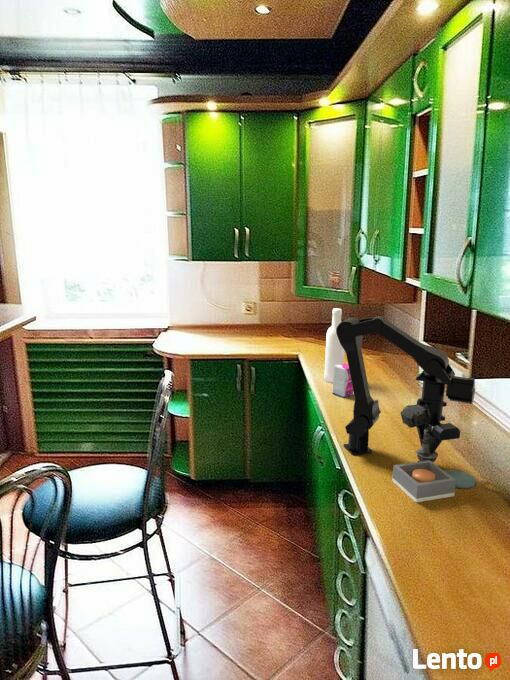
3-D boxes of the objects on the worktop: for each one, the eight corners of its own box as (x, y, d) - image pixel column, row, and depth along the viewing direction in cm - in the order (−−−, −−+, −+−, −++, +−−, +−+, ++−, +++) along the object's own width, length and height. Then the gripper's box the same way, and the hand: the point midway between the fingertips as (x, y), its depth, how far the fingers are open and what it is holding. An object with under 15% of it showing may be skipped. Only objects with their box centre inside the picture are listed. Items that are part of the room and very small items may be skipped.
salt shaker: (432, 460, 154) (436, 420, 151) (440, 469, 148) (444, 429, 145) (412, 460, 154) (415, 421, 151) (419, 470, 148) (422, 429, 145)
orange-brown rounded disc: (407, 474, 139) (408, 470, 139) (426, 471, 141) (426, 467, 141) (420, 485, 134) (420, 480, 134) (439, 482, 136) (439, 478, 135)
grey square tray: (392, 480, 142) (393, 465, 141) (428, 475, 145) (429, 460, 144) (415, 502, 132) (417, 485, 130) (454, 496, 135) (456, 479, 134)
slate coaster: (434, 475, 145) (435, 472, 145) (461, 471, 148) (461, 468, 147) (454, 490, 137) (454, 487, 137) (481, 486, 140) (482, 483, 140)
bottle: (322, 381, 221) (325, 310, 214) (326, 376, 228) (329, 306, 221) (341, 384, 218) (345, 311, 211) (344, 378, 226) (348, 308, 218)
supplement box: (343, 398, 202) (345, 369, 200) (332, 394, 207) (333, 365, 204) (353, 395, 206) (355, 366, 203) (342, 390, 210) (343, 362, 208)
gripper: (388, 388, 152) (384, 439, 156) (427, 412, 135) (421, 469, 139) (422, 385, 156) (417, 435, 159) (464, 408, 138) (458, 463, 142)
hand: (427, 450), depth 150 cm, fingers closed on salt shaker, 3 cm apart
